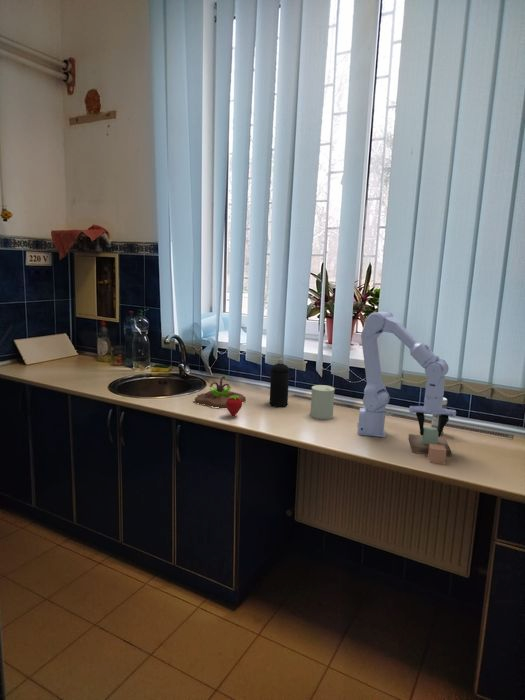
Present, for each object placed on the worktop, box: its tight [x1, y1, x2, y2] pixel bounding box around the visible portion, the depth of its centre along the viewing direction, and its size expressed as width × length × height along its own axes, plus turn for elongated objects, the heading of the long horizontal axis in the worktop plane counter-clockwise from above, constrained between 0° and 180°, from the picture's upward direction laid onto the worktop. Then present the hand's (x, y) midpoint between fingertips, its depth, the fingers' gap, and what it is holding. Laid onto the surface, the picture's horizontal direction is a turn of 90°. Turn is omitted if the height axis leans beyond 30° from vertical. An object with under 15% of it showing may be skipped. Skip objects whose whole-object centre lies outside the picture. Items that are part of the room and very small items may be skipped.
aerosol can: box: [268, 357, 291, 408], centre depth 201 cm, size 8×8×20 cm
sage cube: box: [421, 426, 439, 444], centre depth 160 cm, size 4×4×4 cm
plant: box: [194, 375, 247, 408], centre depth 204 cm, size 20×20×11 cm
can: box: [309, 384, 336, 420], centre depth 190 cm, size 9×9×12 cm
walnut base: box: [407, 433, 452, 457], centre depth 161 cm, size 12×12×2 cm
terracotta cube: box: [427, 444, 447, 465], centre depth 151 cm, size 4×4×4 cm
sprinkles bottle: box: [430, 396, 448, 436], centre depth 174 cm, size 5×5×14 cm
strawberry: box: [226, 395, 243, 417], centre depth 185 cm, size 6×8×10 cm
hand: (429, 435), depth 160 cm, fingers open, 5 cm apart
